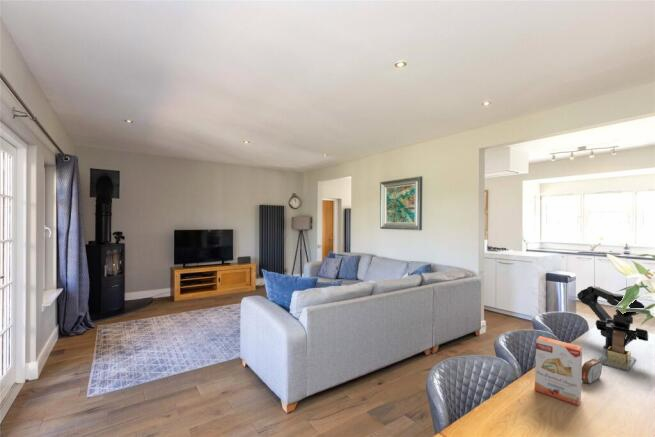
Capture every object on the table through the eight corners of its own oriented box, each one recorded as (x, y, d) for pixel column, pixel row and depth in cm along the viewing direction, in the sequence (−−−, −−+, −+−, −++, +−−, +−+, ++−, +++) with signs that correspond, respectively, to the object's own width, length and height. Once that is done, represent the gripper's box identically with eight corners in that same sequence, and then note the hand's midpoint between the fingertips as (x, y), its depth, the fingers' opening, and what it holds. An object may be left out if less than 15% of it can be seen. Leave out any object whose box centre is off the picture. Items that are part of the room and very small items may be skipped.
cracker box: (534, 391, 124) (535, 339, 124) (537, 385, 128) (539, 335, 128) (579, 407, 114) (580, 350, 114) (581, 400, 118) (582, 345, 118)
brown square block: (613, 354, 155) (614, 330, 155) (624, 357, 152) (625, 332, 152) (611, 356, 152) (612, 331, 152) (623, 360, 149) (623, 334, 149)
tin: (594, 374, 138) (594, 355, 138) (603, 378, 135) (603, 358, 135) (579, 383, 130) (579, 363, 130) (588, 387, 128) (588, 366, 128)
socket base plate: (606, 351, 162) (606, 342, 162) (635, 359, 154) (636, 349, 154) (596, 362, 150) (597, 352, 150) (628, 371, 141) (628, 360, 141)
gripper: (597, 304, 162) (590, 329, 155) (648, 313, 147) (643, 342, 140) (600, 316, 167) (594, 341, 160) (650, 326, 152) (645, 355, 145)
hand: (618, 344), depth 151 cm, fingers closed on brown square block, 4 cm apart
